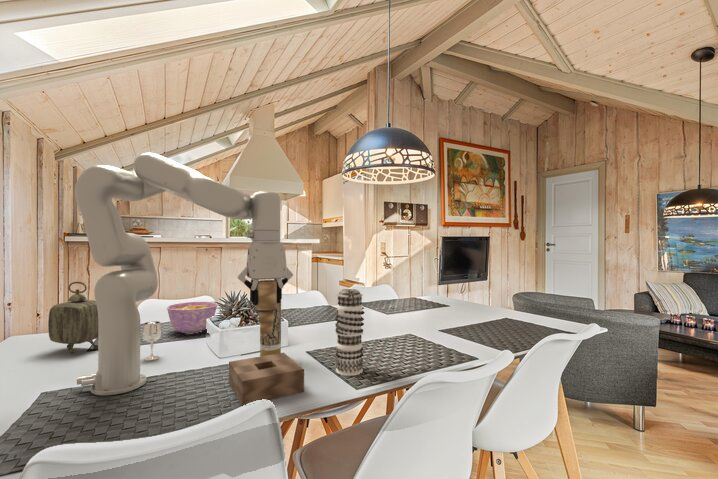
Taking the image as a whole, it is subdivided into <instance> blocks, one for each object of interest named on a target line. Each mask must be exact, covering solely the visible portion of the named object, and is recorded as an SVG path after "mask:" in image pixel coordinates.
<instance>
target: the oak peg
mask: <svg viewBox="0 0 718 479" xmlns="http://www.w3.org/2000/svg"><path fill="white" fill-rule="evenodd" d="M256 290H257V291H258V305H255V312H257V313H258V323H259V334H260V333H262V334H267V333H271V332H272V322H273V321H274V311H276V310H277V280H274V279H263V280H259V281H258V283H257V286H256Z"/></svg>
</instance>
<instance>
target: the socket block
mask: <svg viewBox="0 0 718 479" xmlns="http://www.w3.org/2000/svg"><path fill="white" fill-rule="evenodd" d="M228 385H229V386H230V388H231V387H232V388H231V389H233V390H232V391H233V393H234V392H235V393H234V395H235V394H236V395H235V397H236V398H237V397H238V398H237V400H238V399H239V400H238V402H239V403H240V404H241V406H242V405H244V404H247V403H249V402H253V401H256V400H262V399H268V400H267V401H269V400H275V399H277V398H283V397H287V396H292V395H295V394H301V393H304V392H305V368H304V367H302V366H301V365H300V364H299V363H297V362H296V360H294V359H292V358H291V357H290V356H289V355H287V354H286V353H285V352H281V353H278V354H272V355H266V356H260V355H259V356H256V357H250V358H243V359H237V360H231V361H228Z"/></svg>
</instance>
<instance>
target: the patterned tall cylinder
mask: <svg viewBox="0 0 718 479" xmlns="http://www.w3.org/2000/svg"><path fill="white" fill-rule="evenodd" d="M336 296H337V304H336V306H337V307H336V311H335V312H334V315H335V317H334V318H335V319H334V320H335V321H336V323H335V330H334V331H335V334H336V335H337V341H336V347H335V351H336V352H335V356H336V358H335V373H336V374H338V375H340V376H346V377H349V376H359V375H360V373H361V374H362V373H363V370H364V369H363V367H364V364H363V362H364V358H363V357H364V353H363V351H364V349H363V348H364V347H363V342H362V335H363V334H364V329H363V328H362V327H363V326H364V325H365V323H364V322H363V321H364V320H365V318H364V317H362V316H363V315H364V314H365V311H364V309H365V307H363V304H362V303H363V302H362V300H363V298H362V296H363V293H362V294H361V292H360V290H358V289H354V288H346V289H340V291H339V292H338V293H337V294H336Z"/></svg>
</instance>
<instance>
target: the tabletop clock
mask: <svg viewBox="0 0 718 479" xmlns="http://www.w3.org/2000/svg"><path fill="white" fill-rule="evenodd" d="M74 284H79V285H82V286H84V290H81V291H80V289H79V288H78V289H75V291H74V290H72V289H71V286H72V285H74ZM87 289H88V288H87V284H85V283H84V282H82V281H72V282H71V283H70V284H68V291H69V292H70V293H73V294H72V295H71V296H70V297H69V298H68V299H67V302H61V303H56V304H54V305H53V306H51V308H50V309H49V312H48V325H47V326H48V337H49V340H50V341H52V342H54V343H58V344H62V345H63V344H65V345H66V348H67V349H68V351H67V352H68V353H69V354H73V353H75V350H74V346H75V345H80V344H84V343H86V342H88V343H90V344H91V345H92V346H93V349H94V350H98V344H96V343H95V342H94V341H93V340H96V339H98V336H99V332H98V310H97V305H96V300H95V299H87V296H85V295H84V294H83V293H85V292H86V291H87Z"/></svg>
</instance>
